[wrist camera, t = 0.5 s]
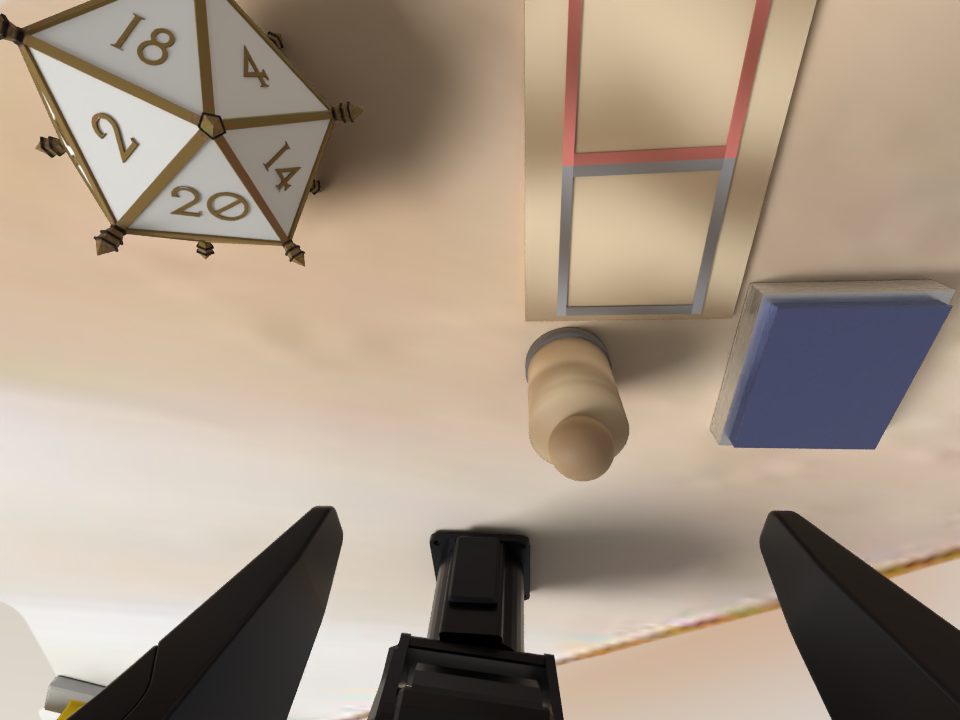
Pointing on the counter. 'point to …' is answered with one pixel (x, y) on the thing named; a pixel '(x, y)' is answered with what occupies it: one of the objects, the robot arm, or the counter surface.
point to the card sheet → (650, 150)
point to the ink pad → (825, 361)
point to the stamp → (574, 403)
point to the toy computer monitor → (69, 695)
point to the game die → (180, 119)
